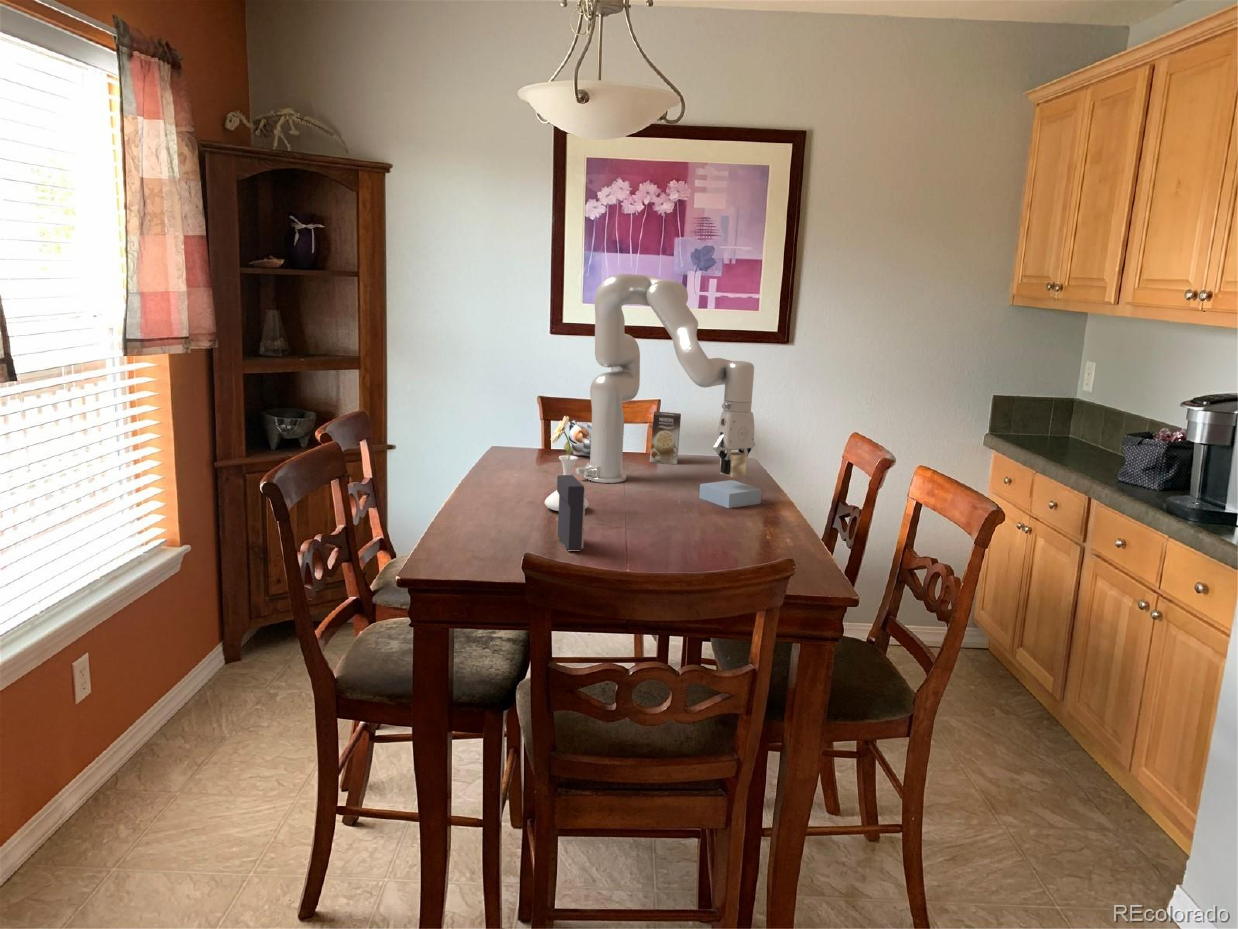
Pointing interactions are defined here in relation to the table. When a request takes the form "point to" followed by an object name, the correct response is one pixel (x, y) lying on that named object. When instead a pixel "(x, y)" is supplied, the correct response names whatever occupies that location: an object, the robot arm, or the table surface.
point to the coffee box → (665, 437)
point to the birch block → (737, 464)
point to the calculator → (571, 512)
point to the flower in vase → (567, 463)
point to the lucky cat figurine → (580, 438)
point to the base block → (730, 493)
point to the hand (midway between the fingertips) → (732, 471)
